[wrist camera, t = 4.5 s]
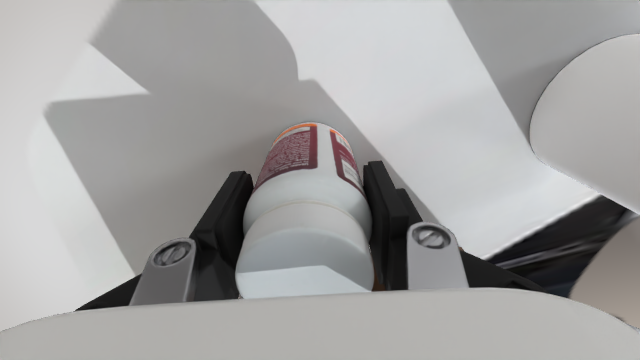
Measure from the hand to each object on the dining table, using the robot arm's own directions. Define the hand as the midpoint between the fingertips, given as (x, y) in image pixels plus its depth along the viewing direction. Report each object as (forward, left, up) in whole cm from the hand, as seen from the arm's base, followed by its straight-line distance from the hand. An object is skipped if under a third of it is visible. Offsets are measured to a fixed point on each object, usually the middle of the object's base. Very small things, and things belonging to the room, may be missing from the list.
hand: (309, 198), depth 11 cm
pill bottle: (0, 0, -4) cm, 4 cm away
